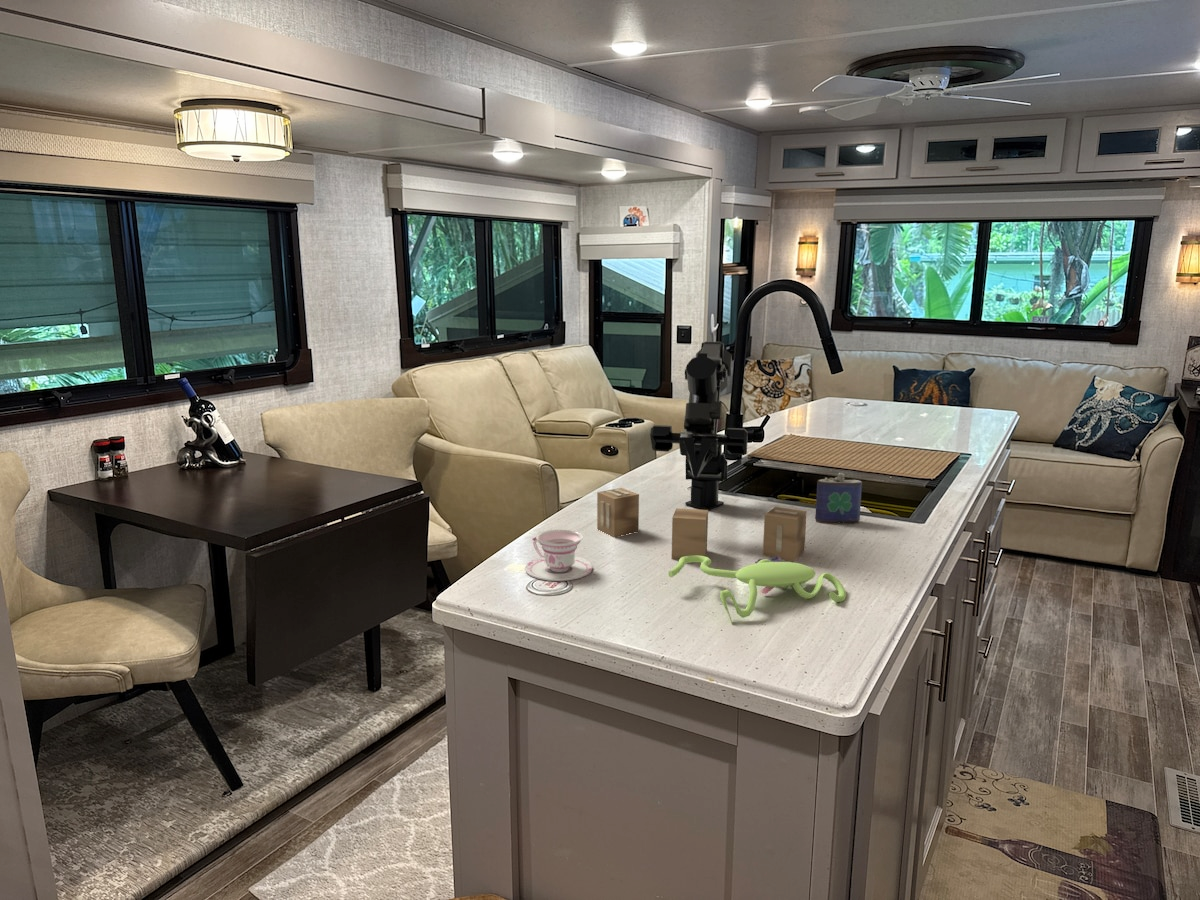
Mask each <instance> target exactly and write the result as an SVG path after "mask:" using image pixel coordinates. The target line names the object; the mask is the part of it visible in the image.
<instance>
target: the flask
mask: <svg viewBox="0 0 1200 900" xmlns="http://www.w3.org/2000/svg"><path fill="white" fill-rule="evenodd" d="M845 476H846V474H845V473H844V472H838V475H837V476H835V477H834V478H833V477H829V478H828V477H824V478H822V479H818V480H817V481H816V483H817V484H816V500H815V501H816V502H815V515H814V516H815V517H814V519H815V523H818V524H832V525H834V524H835V525H837V524H838V525H839V524H843V525H844V524H845V525H847V524H853V525H854V524H859V522H860V519H861V518H860V517H861V503H862V501H861V500H862V491H863V490H862V486H863V481H861V480H859V479H846V478H845Z"/></svg>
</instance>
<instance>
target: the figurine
mask: <svg viewBox="0 0 1200 900" xmlns="http://www.w3.org/2000/svg"><path fill="white" fill-rule="evenodd" d="M689 563H700V566H699V568H700V571H702V572H703V573H704V574H706V575H708V576H711V577H719V578H727V579H737V580H738V581H739V582H742V583H744V584H747V585H748V588H749V594H748V595H749V596H748V601H747V604H746V608H745V609H741V608H740V606H739V605H738V603H737V601H736V598H735V597H734V596H735V595H734V594H733V593H732V592H731V591H730V590H729V589H724V590H720V591H719V592H720V594H719V595H720V600H721V603H722V605H723V608H724V609H725V611H726V613H727V614H728V617H729V621H730V623H731V624H733V623H732V621H733V620H732V617H731V614H730V611H729V608H728V605H727V601H726V600H727V599H726V598H729V597H730V599H731V600H732V602H733V605H734V609H735V612H736V614H737V615H738V616H739V617H740V618H742V619H743V618H747V617H749V616H750V615H752V613H753V612H754V610H755V606H756V601H757V597H758V587H763V588H762V589H761V590H760V593H761V594H763V595H764V594H765V595H766V594H767V593H769V592H771V591H772V590H773V589H774V588H776V587H777V588H778V587H779V588H783V589H784V590H787V589H788V588H789V587H792V588H793V590H794V591H795V592H796V594H797V595H798V596H800V597H801V598H803V599H806V600H808V599H812V598H814V597H815V596H816V595H817V594H818V593H819V591H820V590H821V587H822V584H823V579H825V580H827V581H828V582H830V583H831V584H832V585H833V586H834V588H835V589H836V591H837V593H838V595H837V594H836V593H835V592H834V591H830V592H829V594H828V597H829V598H830V599H831V600H832V601H834V603H835V602H836V603H842V602H843V601H845V599H846V596H847V594H846V593H847V592H846V590H845V588H844V586H843V584H842V583H841V581H840V580H839V579H838V578H837V577H836V576H835V575H833V574H831V572H824V573H822V574H821V575H820V576H818V578H817V580H816V583H815V586H814V588H813V590H812V591H811V592H808V591H806V590H805V589H806V587H807V584H806V583H807V582H809V581H810V580H812V579H813V578H814V577H815V575H816V570H814V569H813V567H810V566H807V565H805V564H802V563H798V562H793V561H782V559H780V557H777V556H773V557H769V558H767V559H764V558H763V559H762V558H760V559H759V558H758V559H757V561H754V563H753V564H748V565H746V566H743V567H741V568H739V569H738V570H727V569H718V568H717V569H716V568H713V567H710V565H711V564H712V559H710V558H709V557H708V556H706V557H705V556H698V555H692V556H685V557H681V558H680V559H679V560H678V563H677V564H676V565H675V566H674V567H672V568H671V569H670V570H669V571H668V577H669V578H673V577H674V576H676V575H677V574H679V573H680V571H682V569H683V568H684V567H685V564H689Z"/></svg>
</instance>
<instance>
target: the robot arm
mask: <svg viewBox="0 0 1200 900" xmlns="http://www.w3.org/2000/svg"><path fill="white" fill-rule="evenodd" d="M724 345H725V344H724V343H723V342H721V341H704V342H701V346H700V349H699V351H697V352H696V354H695V356H694V357H692V358H691V359H690V360H689V361H688V363H687V364H686V367H685V369H684V380H685V381H687V389H688V390H687V391H688V393H689V397H688V402H686V404H685V413H684V414H685V415H684V422H683V428H684V429H683V430H680V432H673V426H672V425H666V424H665V425H663V424H654V425H653V426H652V427H651V428H650V434H649V436H650V437H649V438H650V441H651V442H650V443H651V448H652V450H653V451H654V452H665V453H666V452H667V453H668V452H670V451H671V450H672V449H673V447H674V444H675V445H676V444H678V445H679V454H680V455H681V456H684V457H685V480H686V481H687V480H688V481H689V480H691V485H690V500H689V501H686V502H685V503H684V505H685V506H689V507H694V508H697V509H701V510H708V511H710V510H713V509H715V508H718V507H719V506H723V505H724V503H725V502H724V501H721V500H719V489H720V488H719V483H720V482H724V481H727V480H728V460H727V459H726V457H725V454H724V453H723V449H722V448H723V446H726V447H727V448H726V452H727V453H728V454H730V455H734V456H745V455H747V454H748V431H747V430H746V429H745V428H739V427H737V428H736V427H726V428H727V429H726V434H721V433H719V434H718V424H719V420H721V419H722V409H723V403H722V401H721V394H722V392H723V391H724V390H725V389H726V388H728V385H729V377H730V378H731V377H732V374H733V373H732V372H733V371H732V370H733V369H732V367H733V359H732V357H733V356H732V353H730V352H729V351H728V350H727V349H726V348H725V346H724Z"/></svg>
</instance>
